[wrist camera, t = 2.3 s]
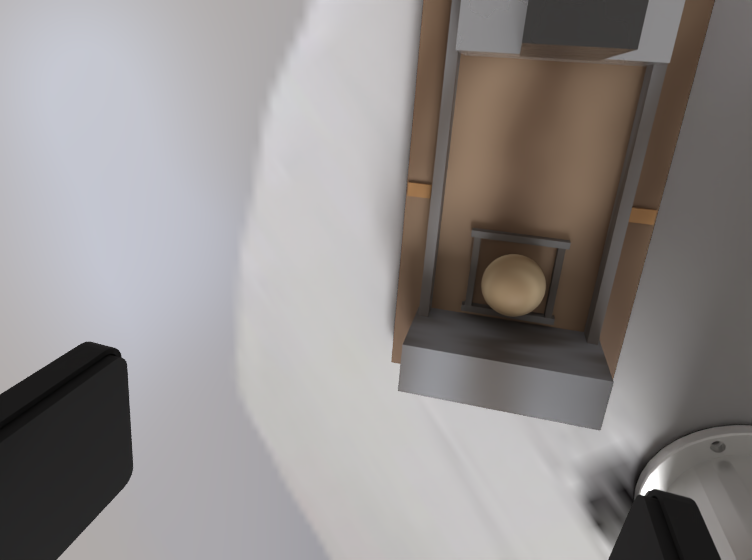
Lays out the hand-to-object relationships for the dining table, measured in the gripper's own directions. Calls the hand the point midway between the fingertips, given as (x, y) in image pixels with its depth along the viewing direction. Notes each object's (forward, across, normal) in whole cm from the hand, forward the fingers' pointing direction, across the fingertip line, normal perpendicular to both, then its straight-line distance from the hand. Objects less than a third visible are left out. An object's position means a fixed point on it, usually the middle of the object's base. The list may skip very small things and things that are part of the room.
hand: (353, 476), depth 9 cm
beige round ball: (+22, -4, +4) cm, 23 cm away
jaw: (+23, -3, -9) cm, 25 cm away
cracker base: (+26, -4, -1) cm, 26 cm away
